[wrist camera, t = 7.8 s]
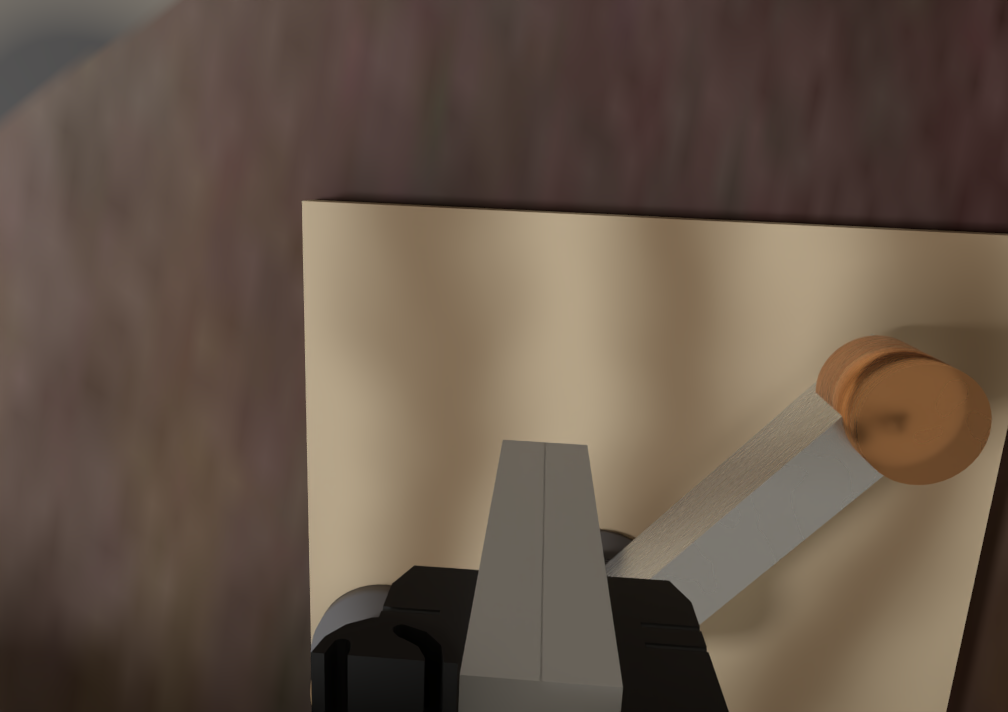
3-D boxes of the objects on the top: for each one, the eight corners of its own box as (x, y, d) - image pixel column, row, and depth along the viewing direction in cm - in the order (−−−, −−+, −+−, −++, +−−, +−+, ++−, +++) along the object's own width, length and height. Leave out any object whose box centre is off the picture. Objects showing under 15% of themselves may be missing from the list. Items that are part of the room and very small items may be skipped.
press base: (322, 682, 26) (270, 787, 22) (313, 199, 22) (248, 206, 18) (920, 741, 24) (997, 867, 20) (1026, 234, 21) (1151, 251, 16)
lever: (455, 659, 23) (432, 752, 20) (860, 301, 20) (928, 331, 16) (528, 724, 24) (519, 828, 20) (940, 383, 20) (1025, 432, 16)
